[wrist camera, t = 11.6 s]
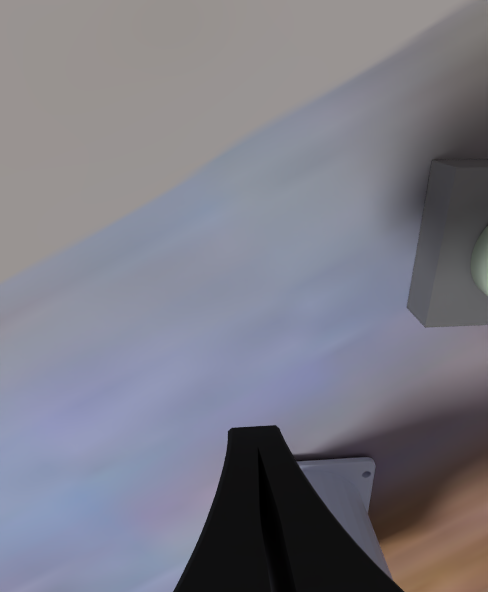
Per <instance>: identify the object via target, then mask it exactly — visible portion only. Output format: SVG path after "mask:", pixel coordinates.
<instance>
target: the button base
mask: <svg viewBox="0 0 488 592" xmlns="http://www.w3.org/2000/svg"><path fill="white" fill-rule="evenodd" d="M487 226H488V159H469V160H432V164H431V170H430V176H429V181H428V187H427V193H426V199H425V205H424V210H423V216H422V222H421V228H420V234H419V239H418V245H417V251H416V257H415V263H414V268H413V274H412V280H411V286H410V292H409V298H408V303H407V308H408V309H409V311H410V312H411V313H412V314H413V315H414V316H415V317H416V318H417V319H418V320H419V321H420V323H421V324H422V325H423V326H424V327H425V328H426V327H449V326H472V325H488V296H487V295H485V294H484V293H483V292H482V291H481V290H480V289H479V288H478V287H477V286H476V284H475V282H474V280H473V278H472V274H471V257H472V252H473V249H474V246H475V244H476V242H477V240H478V238H479V236H480V235H481V233H482V232H483V231H484V229H485V228H486V227H487Z"/></svg>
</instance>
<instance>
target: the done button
mask: <svg viewBox="0 0 488 592" xmlns="http://www.w3.org/2000/svg"><path fill="white" fill-rule="evenodd" d="M471 274H472V278H473V280H474V282H475V284H476V286H477V287H478V288H479V289H480V290H481V291H482V292H483V293H484V294H485V295H487V296H488V226H487V227H486V228H485V229H484V231H483V232H482V233H481V235H480V236H479V238H478V240H477V242H476V244H475V246H474V249H473V252H472V257H471Z"/></svg>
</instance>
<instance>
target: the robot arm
mask: <svg viewBox="0 0 488 592" xmlns="http://www.w3.org/2000/svg"><path fill="white" fill-rule="evenodd" d="M375 468H376V466H375V463H374V460H373V459H372V458H370V457H360V458H344V459H328V460H312V461H297V462H296V460H295V458H294V456H293V455H292V453H291V451H290V449H289V448H288V446H287V444H286V442H285V440H284V438H283V436H282V434H281V432H280V429H279V428H278V427H277V426H276V425H273V426H256V427H238V428H231V429H230V430H229V431H228V444H227V451H226V457H225V461H224V466H223V470H222V474H221V477H220V481H219V484H218V488H217V491H216V494H215V497H214V500H213V503H212V506H211V509H210V511H209V514H208V517H207V520H206V522H205V525H204V527H203V530H202V532H201V535H200V537H199V540H198V542H197V544H196V546H195V549H194V551H193V553H192V555H191V557H190V559H189V561H188V563H187V565H186V568H185V570H184V572H183V574H182V576H181V578H180V580H179V582H178V584H177V585H176V587H175V589H174V591H173V592H404V591H403V590H402V589H401V588H400V587H399V586H398V585H397V584H396V583H395V582H394V581H393V579H392V576H391V574H390V571H389V569H388V566H387V563H386V561H385V558H384V555H383V553H382V550H381V547H380V545H379V542H378V540H377V537H376V534H375V532H374V529H373V526H372V524H371V521H370V519H369V516H368V510H369V504H370V498H371V492H372V486H373V480H374V474H375ZM366 471H367V472H366Z"/></svg>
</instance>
